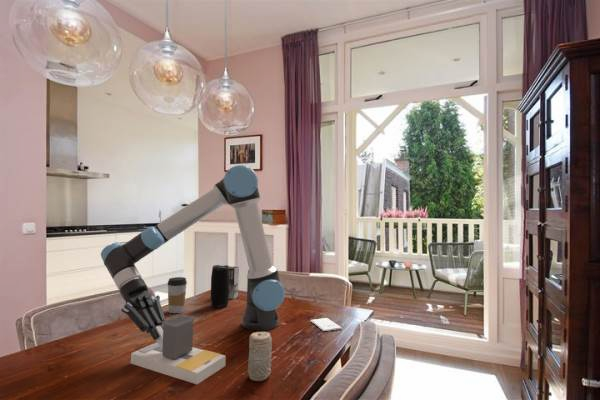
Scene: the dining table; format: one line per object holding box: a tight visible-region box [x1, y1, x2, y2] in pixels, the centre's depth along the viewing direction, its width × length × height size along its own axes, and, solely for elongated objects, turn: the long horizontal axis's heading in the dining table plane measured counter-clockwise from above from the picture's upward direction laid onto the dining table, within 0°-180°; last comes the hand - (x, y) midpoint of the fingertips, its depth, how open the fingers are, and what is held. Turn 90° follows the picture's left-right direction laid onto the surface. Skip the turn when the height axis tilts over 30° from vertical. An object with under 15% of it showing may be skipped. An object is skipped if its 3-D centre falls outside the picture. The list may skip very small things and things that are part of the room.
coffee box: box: [228, 265, 240, 300], centre depth 177 cm, size 9×6×16 cm
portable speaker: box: [210, 264, 230, 309], centre depth 160 cm, size 9×9×20 cm
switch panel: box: [130, 342, 227, 385], centre depth 99 cm, size 26×12×3 cm, turn 65°
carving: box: [247, 331, 273, 382], centre depth 92 cm, size 6×8×12 cm
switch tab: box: [162, 314, 195, 359], centre depth 99 cm, size 5×7×10 cm
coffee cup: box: [167, 276, 188, 315], centre depth 150 cm, size 8×8×15 cm
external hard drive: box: [310, 317, 343, 332], centre depth 135 cm, size 2×8×12 cm
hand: (165, 346), depth 99 cm, fingers closed
